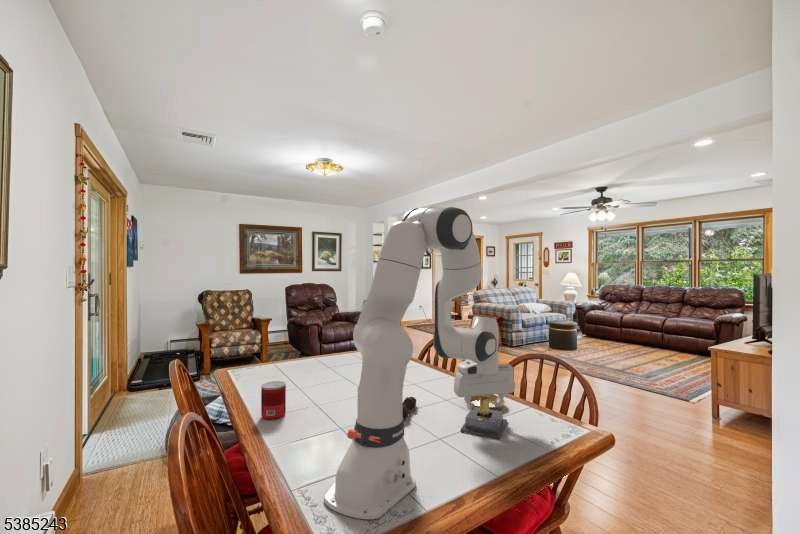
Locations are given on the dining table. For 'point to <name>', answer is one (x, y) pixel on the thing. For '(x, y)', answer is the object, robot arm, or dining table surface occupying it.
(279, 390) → the canned food
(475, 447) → the dining table surface
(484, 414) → the pin
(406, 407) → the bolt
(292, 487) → the dining table surface
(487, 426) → the grey socket base
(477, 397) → the plant saucer
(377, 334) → the robot arm
